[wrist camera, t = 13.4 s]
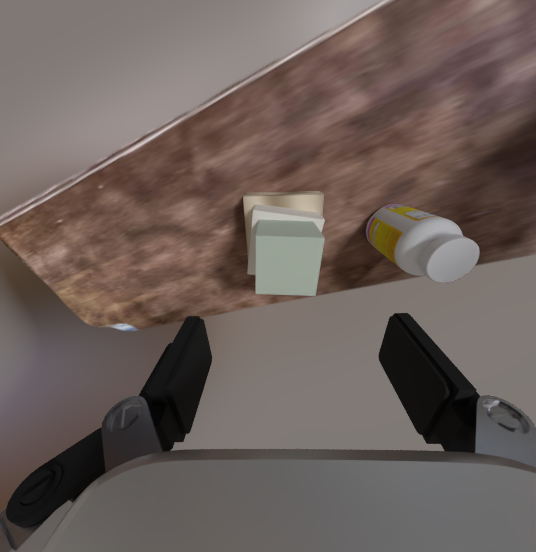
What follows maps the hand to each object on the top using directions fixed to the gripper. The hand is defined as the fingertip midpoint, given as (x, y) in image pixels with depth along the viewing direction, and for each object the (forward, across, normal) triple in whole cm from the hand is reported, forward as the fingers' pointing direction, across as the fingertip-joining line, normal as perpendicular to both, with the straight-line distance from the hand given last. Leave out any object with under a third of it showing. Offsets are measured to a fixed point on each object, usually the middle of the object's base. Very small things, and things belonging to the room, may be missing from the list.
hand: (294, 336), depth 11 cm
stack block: (+16, 0, +1) cm, 16 cm away
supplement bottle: (+24, -16, +1) cm, 28 cm away
